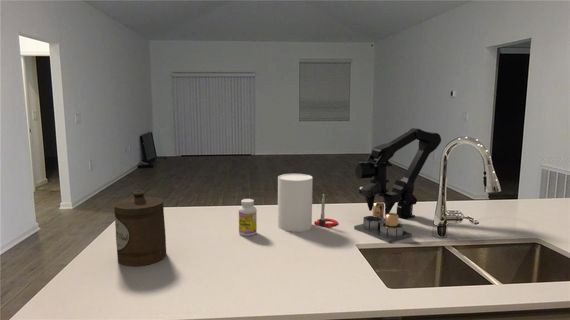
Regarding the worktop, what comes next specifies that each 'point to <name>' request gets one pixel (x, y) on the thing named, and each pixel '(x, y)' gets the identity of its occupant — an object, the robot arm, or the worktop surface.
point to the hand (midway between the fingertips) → (378, 213)
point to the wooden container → (140, 230)
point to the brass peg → (378, 209)
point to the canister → (295, 202)
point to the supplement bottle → (247, 218)
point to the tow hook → (322, 221)
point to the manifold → (383, 228)
